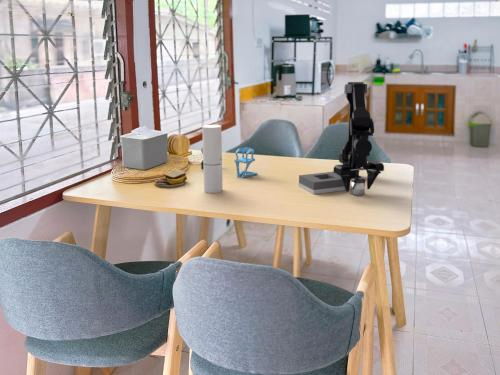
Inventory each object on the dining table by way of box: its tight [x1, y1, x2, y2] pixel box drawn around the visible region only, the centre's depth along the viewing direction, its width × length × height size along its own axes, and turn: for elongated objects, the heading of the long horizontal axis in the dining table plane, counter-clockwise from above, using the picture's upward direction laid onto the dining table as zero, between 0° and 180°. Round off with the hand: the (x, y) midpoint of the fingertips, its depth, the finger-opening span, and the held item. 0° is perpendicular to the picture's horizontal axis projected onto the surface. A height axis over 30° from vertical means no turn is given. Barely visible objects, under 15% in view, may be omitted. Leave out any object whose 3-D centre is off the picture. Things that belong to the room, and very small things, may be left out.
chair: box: [234, 146, 258, 179], centre depth 233 cm, size 8×8×12 cm
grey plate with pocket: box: [298, 171, 351, 195], centre depth 214 cm, size 16×12×4 cm
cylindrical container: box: [201, 124, 223, 194], centre depth 209 cm, size 7×7×25 cm
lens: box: [350, 177, 366, 197], centre depth 205 cm, size 5×5×6 cm
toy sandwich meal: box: [154, 169, 188, 188], centre depth 222 cm, size 12×14×5 cm
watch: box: [200, 146, 204, 170], centre depth 247 cm, size 6×8×11 cm
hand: (357, 190), depth 205 cm, fingers open, 9 cm apart
